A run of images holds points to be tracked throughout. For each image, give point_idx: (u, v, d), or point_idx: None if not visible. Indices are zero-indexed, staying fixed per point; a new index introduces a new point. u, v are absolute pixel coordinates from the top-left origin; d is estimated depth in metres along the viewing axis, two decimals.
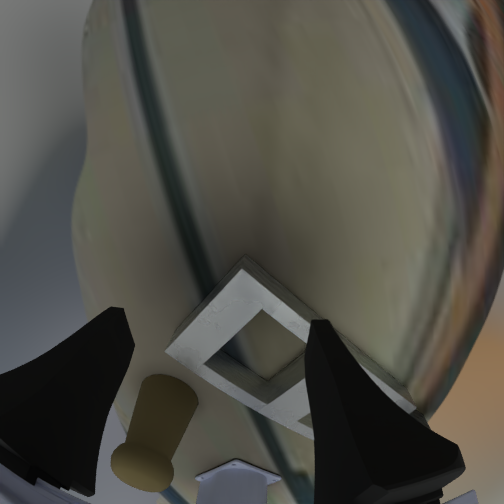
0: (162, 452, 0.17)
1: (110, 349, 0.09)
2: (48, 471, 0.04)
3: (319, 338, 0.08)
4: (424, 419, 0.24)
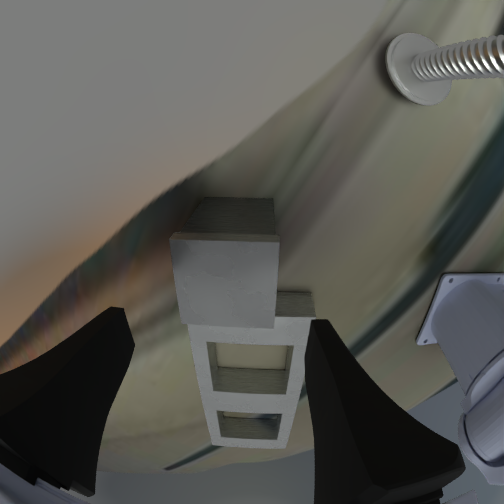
0: None
1: (110, 349, 0.09)
2: (48, 471, 0.04)
3: (319, 338, 0.08)
4: None
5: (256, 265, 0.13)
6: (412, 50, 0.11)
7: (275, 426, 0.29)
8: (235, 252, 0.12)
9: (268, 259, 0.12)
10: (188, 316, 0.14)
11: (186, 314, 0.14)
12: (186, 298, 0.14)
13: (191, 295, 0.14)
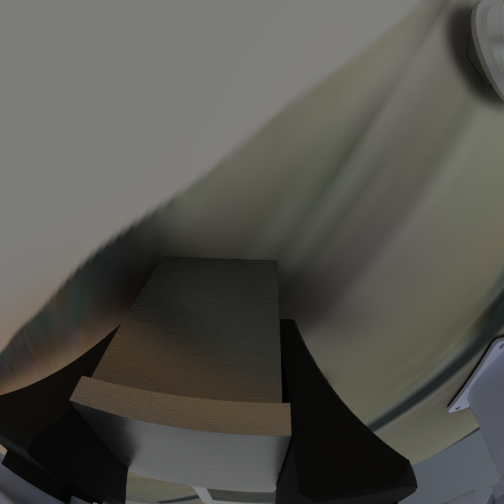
0: None
1: None
2: (83, 488, 0.04)
3: None
4: None
5: (241, 454, 0.05)
6: None
7: None
8: (196, 440, 0.05)
9: (265, 451, 0.05)
10: (139, 471, 0.07)
11: (135, 469, 0.07)
12: (128, 459, 0.06)
13: (135, 459, 0.06)
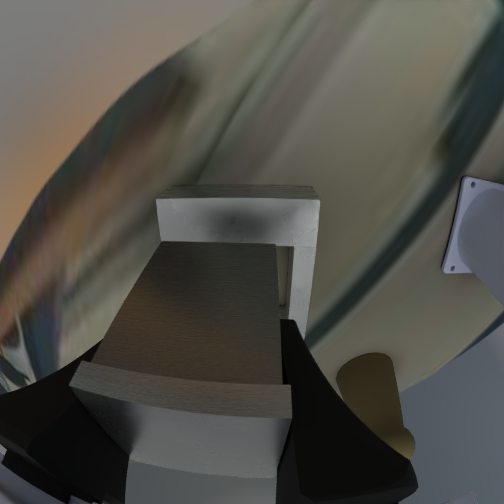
0: None
1: None
2: (82, 487, 0.04)
3: None
4: None
5: (241, 438, 0.05)
6: None
7: None
8: (196, 424, 0.05)
9: (266, 434, 0.05)
10: (139, 458, 0.07)
11: (135, 456, 0.07)
12: (129, 446, 0.06)
13: (135, 445, 0.06)
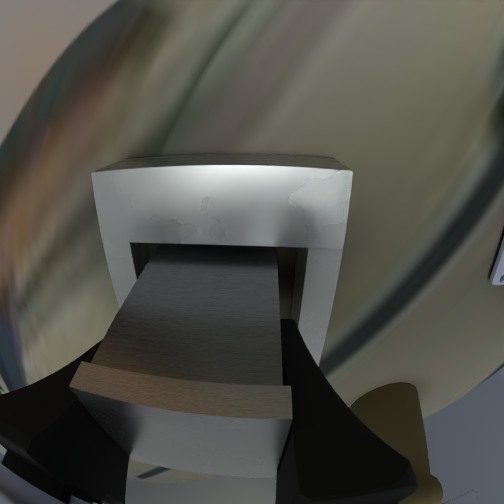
0: None
1: None
2: (82, 487, 0.04)
3: None
4: None
5: (242, 438, 0.05)
6: None
7: None
8: (196, 425, 0.05)
9: (266, 435, 0.05)
10: (139, 458, 0.07)
11: (136, 456, 0.07)
12: (129, 446, 0.06)
13: (135, 445, 0.06)
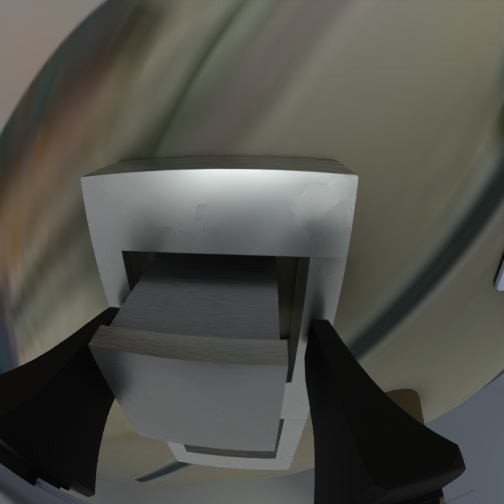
0: None
1: None
2: (48, 471, 0.04)
3: (319, 338, 0.08)
4: None
5: (243, 393, 0.06)
6: None
7: None
8: (203, 376, 0.06)
9: (265, 387, 0.06)
10: (146, 431, 0.08)
11: (142, 429, 0.08)
12: (137, 415, 0.07)
13: (143, 414, 0.07)
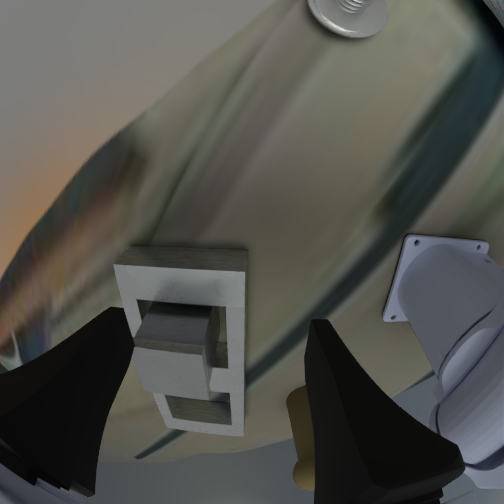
0: (299, 458, 0.21)
1: (110, 349, 0.09)
2: (48, 471, 0.04)
3: (319, 338, 0.08)
4: None
5: (188, 365, 0.16)
6: None
7: None
8: (172, 357, 0.16)
9: (195, 363, 0.16)
10: (148, 387, 0.18)
11: (146, 386, 0.17)
12: (144, 378, 0.17)
13: (147, 377, 0.17)
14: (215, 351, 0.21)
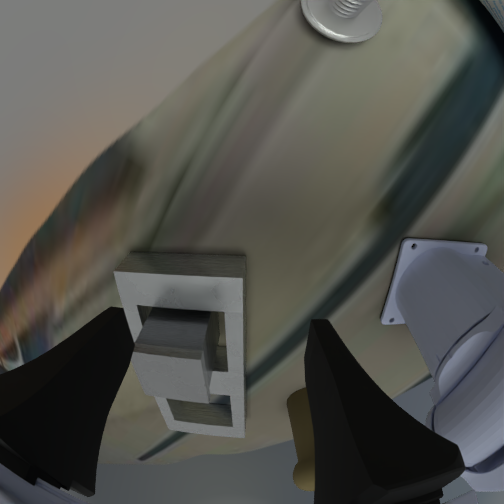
0: (299, 460, 0.21)
1: (110, 349, 0.09)
2: (48, 471, 0.04)
3: (319, 338, 0.08)
4: None
5: (187, 370, 0.16)
6: None
7: None
8: (171, 362, 0.16)
9: (195, 368, 0.16)
10: (149, 391, 0.18)
11: (147, 390, 0.18)
12: (145, 382, 0.17)
13: (148, 381, 0.17)
14: (215, 355, 0.22)
